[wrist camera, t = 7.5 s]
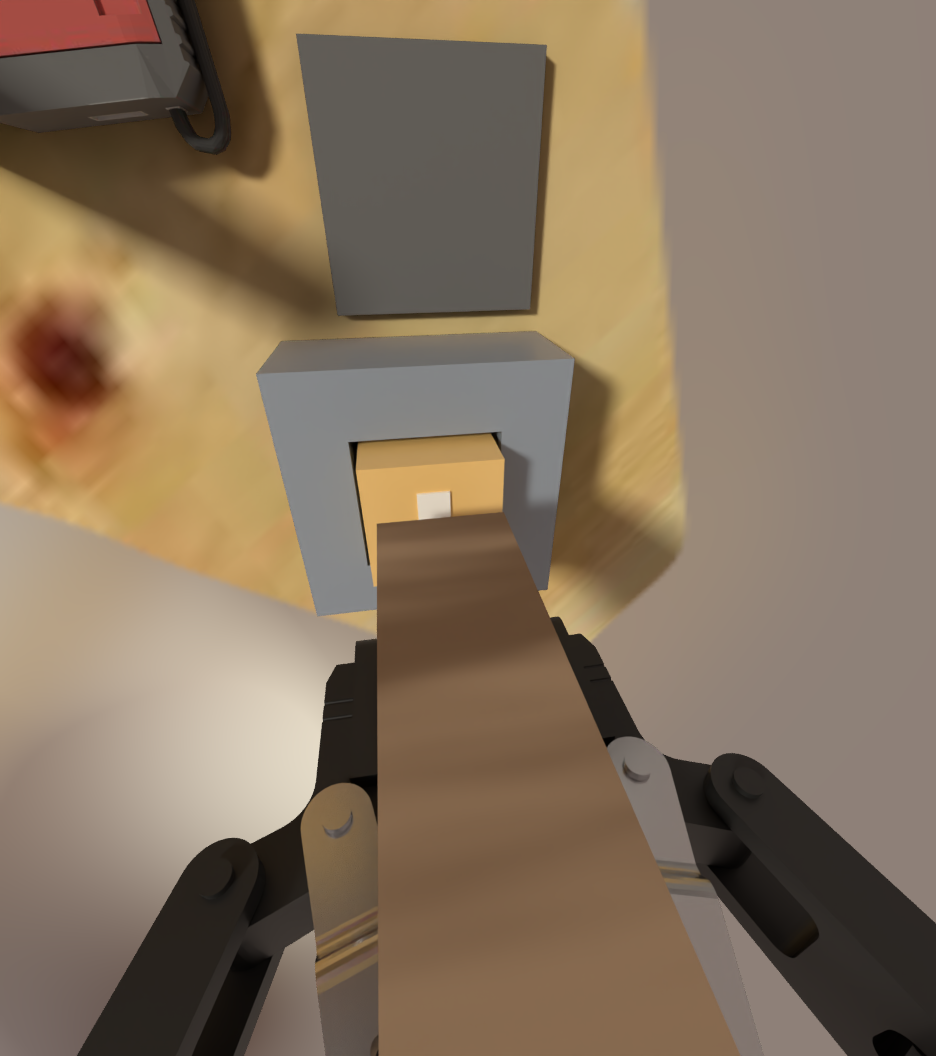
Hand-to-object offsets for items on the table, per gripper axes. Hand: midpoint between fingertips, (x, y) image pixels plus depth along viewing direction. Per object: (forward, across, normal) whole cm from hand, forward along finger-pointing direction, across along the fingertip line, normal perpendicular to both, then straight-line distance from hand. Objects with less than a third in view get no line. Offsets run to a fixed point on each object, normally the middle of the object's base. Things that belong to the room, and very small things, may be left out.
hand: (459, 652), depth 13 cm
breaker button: (+10, 0, 0) cm, 10 cm away
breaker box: (+13, 0, 0) cm, 13 cm away
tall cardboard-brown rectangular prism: (+4, 0, 0) cm, 4 cm away
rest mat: (+13, -1, -10) cm, 17 cm away
